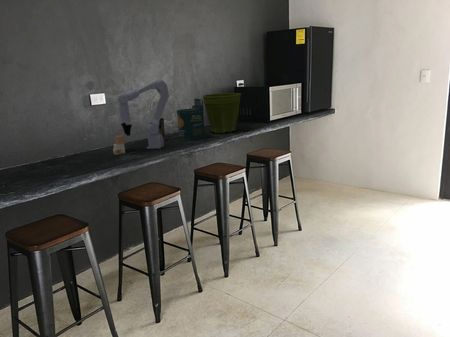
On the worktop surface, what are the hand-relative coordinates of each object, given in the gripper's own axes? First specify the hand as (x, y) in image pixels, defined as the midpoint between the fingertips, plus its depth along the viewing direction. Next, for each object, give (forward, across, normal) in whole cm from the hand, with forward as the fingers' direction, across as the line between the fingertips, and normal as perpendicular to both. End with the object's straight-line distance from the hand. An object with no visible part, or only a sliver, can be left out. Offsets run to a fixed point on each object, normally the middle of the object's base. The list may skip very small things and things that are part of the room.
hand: (127, 134), depth 243 cm
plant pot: (+11, -28, +77) cm, 83 cm away
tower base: (+11, +4, -7) cm, 13 cm away
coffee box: (+11, -21, +24) cm, 34 cm away
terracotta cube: (+4, +4, -6) cm, 8 cm away
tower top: (+8, +5, -7) cm, 11 cm away
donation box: (+11, -15, +47) cm, 50 cm away
